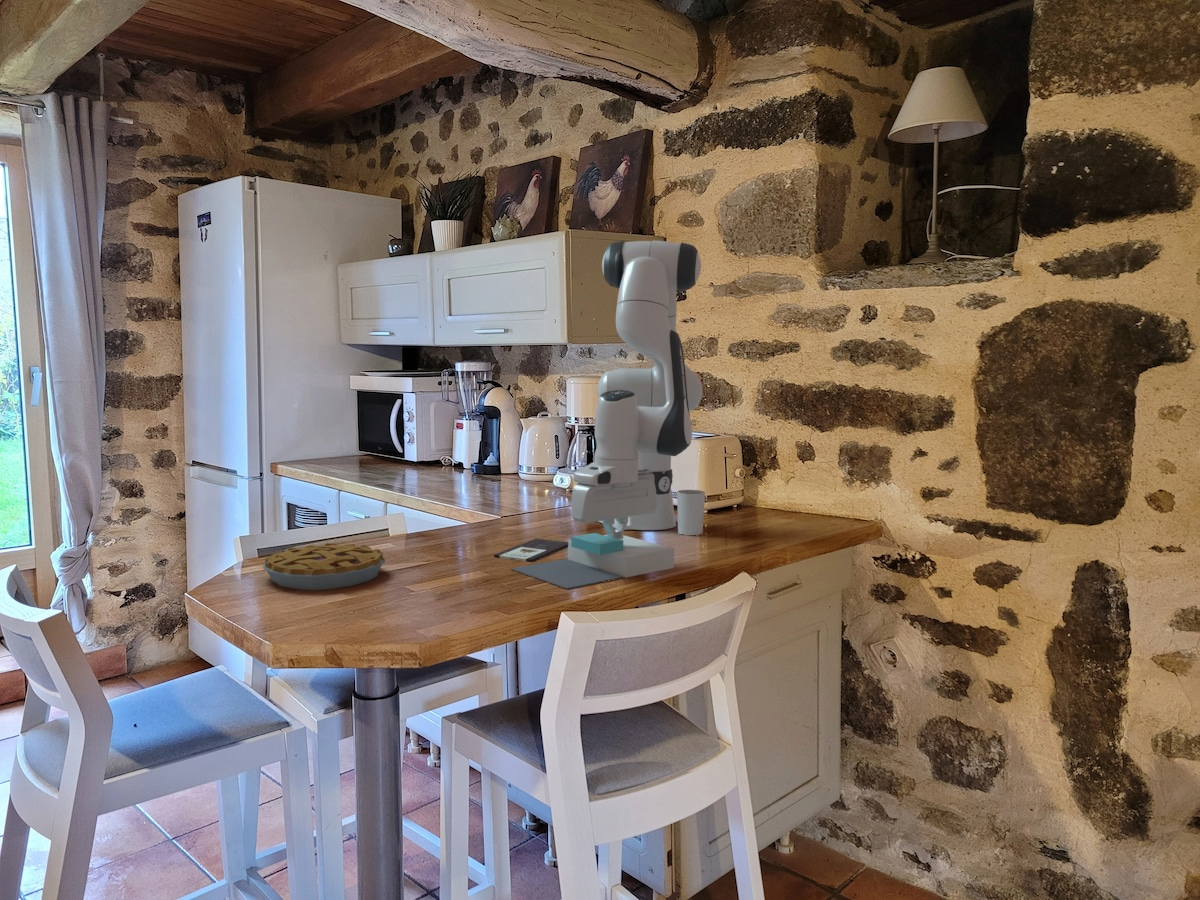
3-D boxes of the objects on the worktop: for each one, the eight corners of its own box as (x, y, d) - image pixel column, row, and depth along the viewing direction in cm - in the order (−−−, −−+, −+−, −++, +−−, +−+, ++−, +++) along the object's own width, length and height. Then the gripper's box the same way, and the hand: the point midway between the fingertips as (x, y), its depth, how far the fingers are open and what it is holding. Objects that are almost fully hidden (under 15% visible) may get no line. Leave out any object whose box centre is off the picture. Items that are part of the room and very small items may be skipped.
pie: (341, 558, 182) (340, 534, 181) (408, 576, 168) (407, 550, 168) (241, 578, 165) (240, 552, 165) (306, 600, 151) (305, 571, 151)
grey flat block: (568, 559, 182) (568, 540, 182) (615, 551, 190) (615, 533, 190) (625, 577, 168) (625, 557, 168) (673, 567, 177) (674, 548, 176)
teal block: (571, 546, 177) (571, 536, 176) (594, 542, 181) (594, 532, 180) (600, 554, 170) (600, 544, 170) (623, 550, 174) (623, 540, 173)
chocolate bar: (571, 542, 196) (531, 559, 180) (571, 546, 196) (531, 564, 180) (536, 538, 200) (494, 554, 184) (536, 542, 200) (494, 559, 184)
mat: (511, 569, 173) (511, 568, 173) (566, 560, 182) (566, 558, 182) (566, 589, 160) (566, 588, 159) (623, 578, 168) (623, 576, 168)
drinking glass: (671, 534, 209) (672, 492, 208) (682, 529, 215) (683, 488, 214) (698, 537, 206) (699, 495, 205) (708, 532, 212) (709, 491, 211)
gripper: (643, 466, 185) (642, 531, 187) (566, 473, 172) (566, 543, 174) (664, 469, 180) (663, 535, 182) (587, 477, 167) (586, 549, 169)
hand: (615, 539), depth 178 cm, fingers closed
